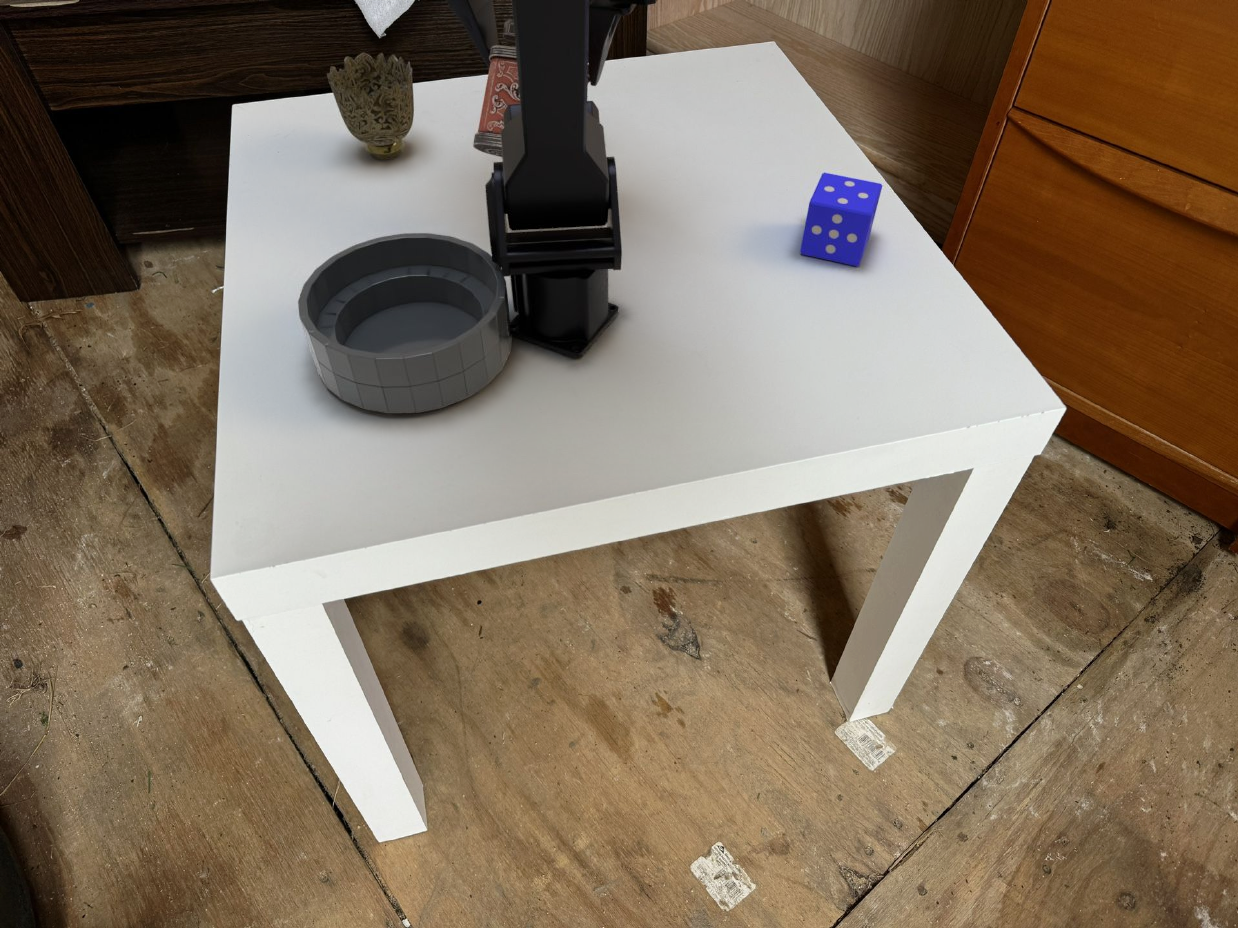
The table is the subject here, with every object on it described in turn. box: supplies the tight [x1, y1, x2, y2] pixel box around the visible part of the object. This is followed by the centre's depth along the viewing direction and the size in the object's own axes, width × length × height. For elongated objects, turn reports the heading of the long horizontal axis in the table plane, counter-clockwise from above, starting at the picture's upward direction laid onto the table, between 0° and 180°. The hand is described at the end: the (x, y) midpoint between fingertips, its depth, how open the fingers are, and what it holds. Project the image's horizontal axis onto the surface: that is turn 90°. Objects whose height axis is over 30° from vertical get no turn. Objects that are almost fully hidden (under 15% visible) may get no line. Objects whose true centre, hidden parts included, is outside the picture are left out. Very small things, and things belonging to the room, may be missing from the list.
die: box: [799, 172, 883, 267], centre depth 73 cm, size 5×5×5 cm
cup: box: [326, 51, 415, 160], centre depth 82 cm, size 8×7×8 cm
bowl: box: [297, 232, 513, 414], centre depth 64 cm, size 14×14×6 cm
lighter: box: [472, 19, 590, 158], centre depth 68 cm, size 8×3×10 cm
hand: (545, 77), depth 70 cm, fingers closed on lighter, 8 cm apart
